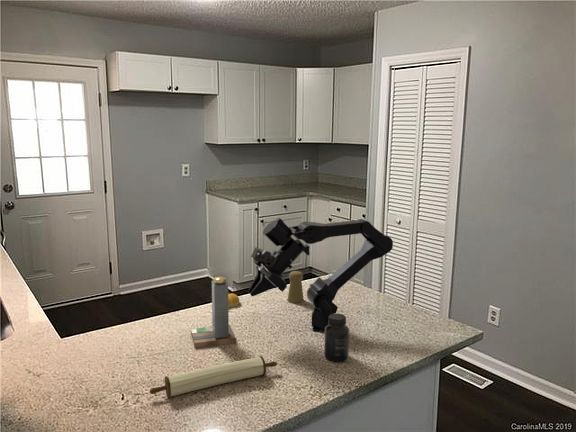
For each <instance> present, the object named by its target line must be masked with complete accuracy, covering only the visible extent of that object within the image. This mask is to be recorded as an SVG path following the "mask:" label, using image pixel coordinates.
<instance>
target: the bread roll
mask: <svg viewBox="0 0 576 432" xmlns="http://www.w3.org/2000/svg"><path fill="white" fill-rule="evenodd" d="M239 303H240V297H239V296H238V295H237V294H235V293H228V309H229V308H234V307H237V306H238V305H239Z"/></svg>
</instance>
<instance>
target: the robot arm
mask: <svg viewBox="0 0 576 432" xmlns="http://www.w3.org/2000/svg"><path fill="white" fill-rule="evenodd" d="M358 234H359V235H361V236H362V238H365V240H364V242H363V244H362V247H361V248H360V250H359V251H358V252H357V253H355V254H353V256H352V257H351V258H350V259H349V260H347V261H346V262H345V263H344V264H342V265H341V267H339V268H338V269H337V270H336V271H335V272H334V273H333V274H331V275H330V276H329V277H328V278H326V279H322V278H321V277H318V278H317V279H316V280H315V281H314V282H313V283H311V284H309V288H308V289H307V290H306V298H307V299H308V301H309V302H310V303H311V305H312V306H314V308H313V311H312V313H311V327H312V331H315V332H325V327H326V325H328V324H329V323H328V320H329V315H331V314H337V311H338V309H339V306H338V305H336V303H335V302H333V301H335V298H336V296H337V294H338V291H339V290H340V289H341V288H342V287H344V285H345V284H347V283H348V282H349V281H350V280H351V279H352V278H353V277H355V276H356V275H357V274H358V273H359V272H360V271H362V270H363V269H364V268H365V267H366V266H367V265H368V264H370V263H371V262H372V261H374V260H377V259H380V258H383V257H384V256H385V255H387V254H389V253H390V252H391V251H392V250H393V248H394V242H393V241H394V240H393V239H392V238H391V237H390V236H388V235H386V234H384V233H382V232H381V231H380V230H379V229H377V228H376V227H375V226H374V225H373V224H371V222H370V221H367V220H366V219H364V218H363V219H362V218H360V219H357V220H347V221H345V220H344V221H340V222H339V221H338V222H330V223H329V222H328V223H323V222H322V223H321V222H315V221H302V222H300V223H299V225H293V226H287V224H286V223H285V222H284V220H283V219H282V218H281V217H277V218H276V219H274V220H272V221H271V222H270V223H268V224H267V225H266V226H265V227H264V229H263V230H262V235H264V236H265V237H266V238H267V239H268V240H269V241H270V242H271V243H272V244H274V246H275V247H279V246H280V248H279V249H278V250H276V249H275V250H273V251H272V252H271V251H269V250H268V251H267V250H266V249H262V248H259V247H256V246H255V247H254V249H253V251H252V253H251V256H250V257H251V258H252V259H253V263H254V264H255V265H256V266H255V272H256V274H255V277H254V279H253V281H252V283H251V285H250V286H249V288H248V293H249V295H250V296H251V297H255V296H257V295H260V294H262V293H265V292H268V291H271V290H274V289H278V290H279V291H281V292H282V293H283V292H284V291H285V290H286V289H287V287H288V282H286V280H285V279H284V278H283V277H284V276H283V273H285V271H287V269H292V268H293V265H292V264H293V263H294V262H295V261H296V260H297V259H298V258H299V257H300V256H301V255H302V253H304V254H305V255H307V256H310V246H309V245H313V244H316V243H319V242H322V241H324V240H326V239H328V238H334V237H341V236H349V235H352V236H353V235H358ZM292 236H293V237H294V238H295V239H294V238H293V237H292ZM301 240H302V241H301ZM303 242H304V243H305V244H304V243H303ZM257 266H258V267H257Z"/></svg>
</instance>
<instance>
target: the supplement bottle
mask: <svg viewBox="0 0 576 432" xmlns="http://www.w3.org/2000/svg"><path fill="white" fill-rule="evenodd" d="M328 323H329V324H328V325H326V327H325V331H324V342H323V343H324V344H323V345H324V346H323V348H324V349H323V351H324V352H323V354H324V358H325V359H326V360H327V361H329V362H332V363H343V362H346V361H348V360H349V355H350V328H349V326H348V325H347V316H346V315H344V314H343V313H342V314H341V313H335V314H331V315H329V320H328Z"/></svg>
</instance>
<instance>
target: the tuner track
mask: <svg viewBox="0 0 576 432" xmlns="http://www.w3.org/2000/svg"><path fill="white" fill-rule="evenodd" d="M190 334H191V339H192V342H193V347H194V349H195V348H204V347H211V346H220V345H228V344H229V345H230V344H236V343H237V342H236V341H237V340H236V339H237V338H236V335H235V333H234V331H233V329H232V327H231V325H230V324H229V337H220V338H215V337H214V334H213V329H212V326H205V327H196V328H190Z"/></svg>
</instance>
